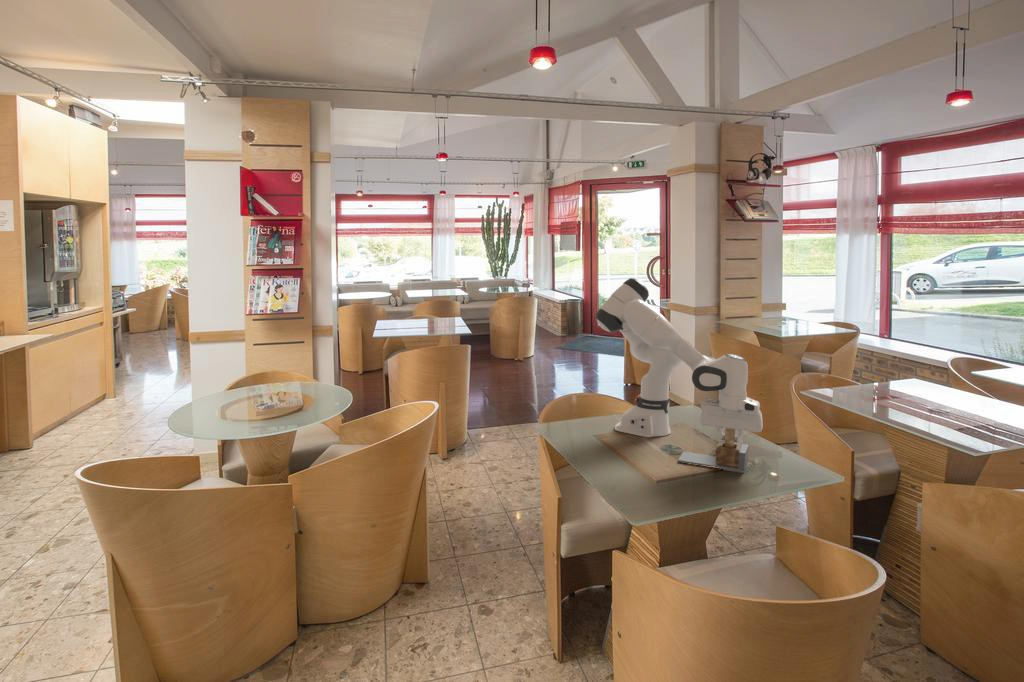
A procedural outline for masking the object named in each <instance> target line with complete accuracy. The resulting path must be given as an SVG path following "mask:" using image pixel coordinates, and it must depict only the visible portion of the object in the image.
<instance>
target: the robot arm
mask: <svg viewBox="0 0 1024 682" xmlns="http://www.w3.org/2000/svg"><path fill="white" fill-rule="evenodd" d="M649 295H650V293H649V290H648V288H647V286H646V285H645V284H644V282H642V281H641V280H638V279H636V278H632V277H631V278H628V279H626V280H625V281H624V282H623V283H622V285H620V286H619V287H617V289H616V290H615V291H614V292H613V293H612V294H611V295H610V296H609V298H608V299H607V300H606V301H605V302H604V303H603V304H602V306H601V308H599V309H598V310H597V312H596V314H595V321H596V323H597V324H598V326H599V327H600V328H601V329H602V330H604V331H606V332H608V333H611V334H613V333H616V332H620V333H621V334H622V335H623V336H624V338H625V339H626V341H628V343H629V344H630V346H629V350H630V351H629V352H630V353H631V356H632V357H634V358H635V359H637V360H638V361H640V362H644V363H646V364H649V369H648V372H647V373H646V374H644V375H643V376H642V377H641V380H640V394H638V395H636V398H635V399H634V403H635V405H633V406H632V407H630V408H629V409H627V410H626V411H624V412H623V414H622V415H621V418H620V421H619V422H617V423H616V424H615V425H614V430H615V431H617V432H621V433H626V434H629V435H635V436H640V437H643V438H653V437H664V436H669V435H670V434H671V433H672V430H671V427H670V422H669V412H670V398H669V391H670V381H671V377H672V374H673V372H674V371H675V369H676V368H677V367H678V366H680V365H681V364H682V362H684V363H685V365H687V366H688V367H689V368H690V369H691V371H692V375H691V381H692V383H693V385H694V387H695V388H696V389H698V390H699V391H701V392H717V391H718V399H710V398H705V399H702V401H701V402H700V409H701V414H700V420H699V421H700V422H699V423H700V424H701V425H702V426H707V427H714V428H715V427H717V432H718V433H719V435H720V437H719V438H720V439H719V440H720V441H722V440H725V434H723V428H730V429H736V430H738V433H739V434H738V436H735V437H734V439H735V440H734V442H739V437H740V436H741V435H742V433H743V434H744V431H745V432H753V433H760V432H762V430H763V424H764V423H763V414H762V411H761V410H760V408H761V403H760V401H758V400H756V399H753V398H750V397H748V394H747V386H748V385H747V384H748V382H749V381H748V380H749V379H748V378H749V368H748V367H749V365H748V362H747V360H746V359H745V357H742V356H740V355H737V354H734V353H726V354H725V353H724V354H723V355H722V356H720V357H718V358H714V357H712V356H708V355H706V354H704V353H702V352H701V351H699V350H698V349H697V348H696V347H694V346H693V345H692V344H690V342H689V341H687V340H686V339H685V338H684V337H683V336H682V335H681V334H680V333H679V332H678V331H677V329H676V328H675V327H674V326H673V324H672V323H671V321H669V320H668V319H667V318H666V317H665V316H664V315H663V314H662V313H660V312H659V311H658V310H657V309H656V308H654V307H653V306H652V305H651V304H649V303H648V302H647V300H648V298H649Z"/></svg>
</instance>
